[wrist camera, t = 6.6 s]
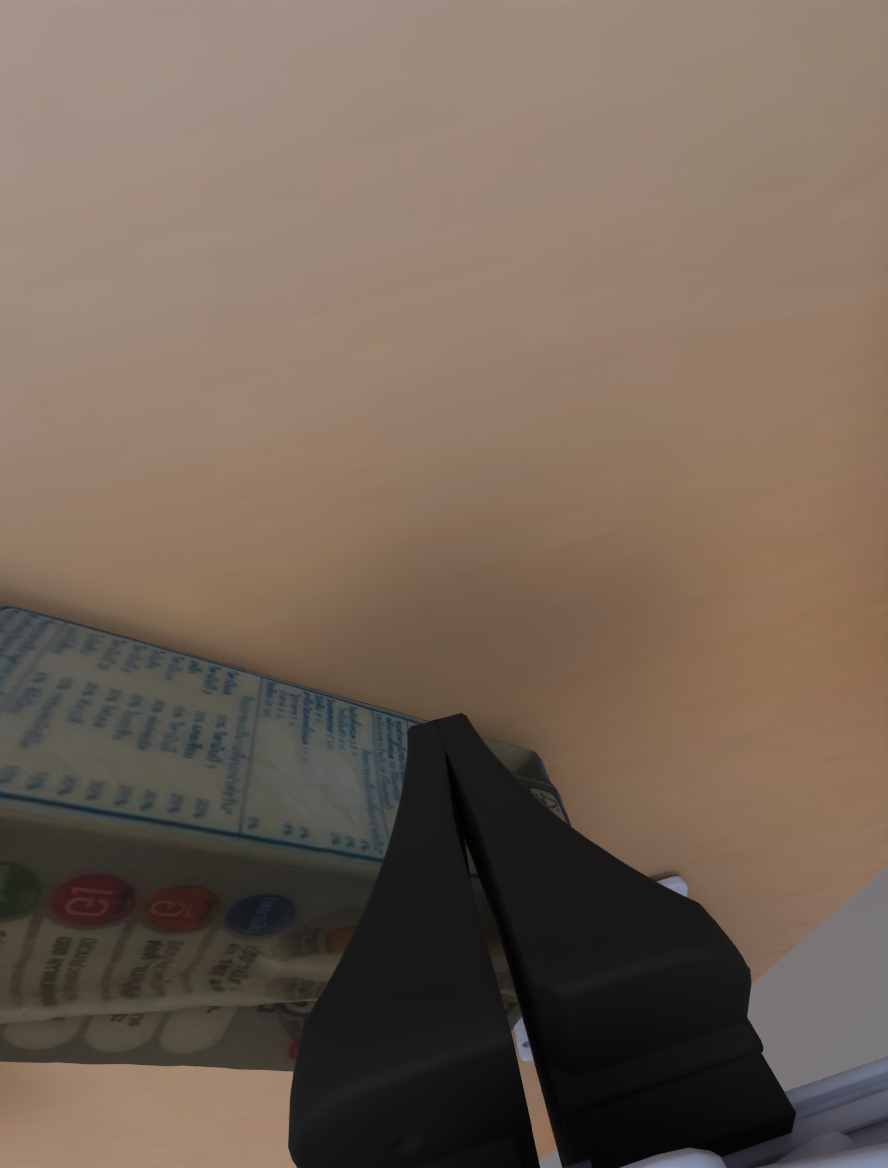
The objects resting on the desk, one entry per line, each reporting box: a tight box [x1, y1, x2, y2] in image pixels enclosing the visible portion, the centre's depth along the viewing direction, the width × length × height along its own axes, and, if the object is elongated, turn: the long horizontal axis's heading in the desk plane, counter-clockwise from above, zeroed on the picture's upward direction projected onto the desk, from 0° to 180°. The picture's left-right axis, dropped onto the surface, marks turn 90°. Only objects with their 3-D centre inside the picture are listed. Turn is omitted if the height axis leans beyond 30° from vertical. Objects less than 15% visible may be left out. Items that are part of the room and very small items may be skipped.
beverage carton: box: [0, 603, 572, 1071], centre depth 14 cm, size 8×19×7 cm, turn 63°
